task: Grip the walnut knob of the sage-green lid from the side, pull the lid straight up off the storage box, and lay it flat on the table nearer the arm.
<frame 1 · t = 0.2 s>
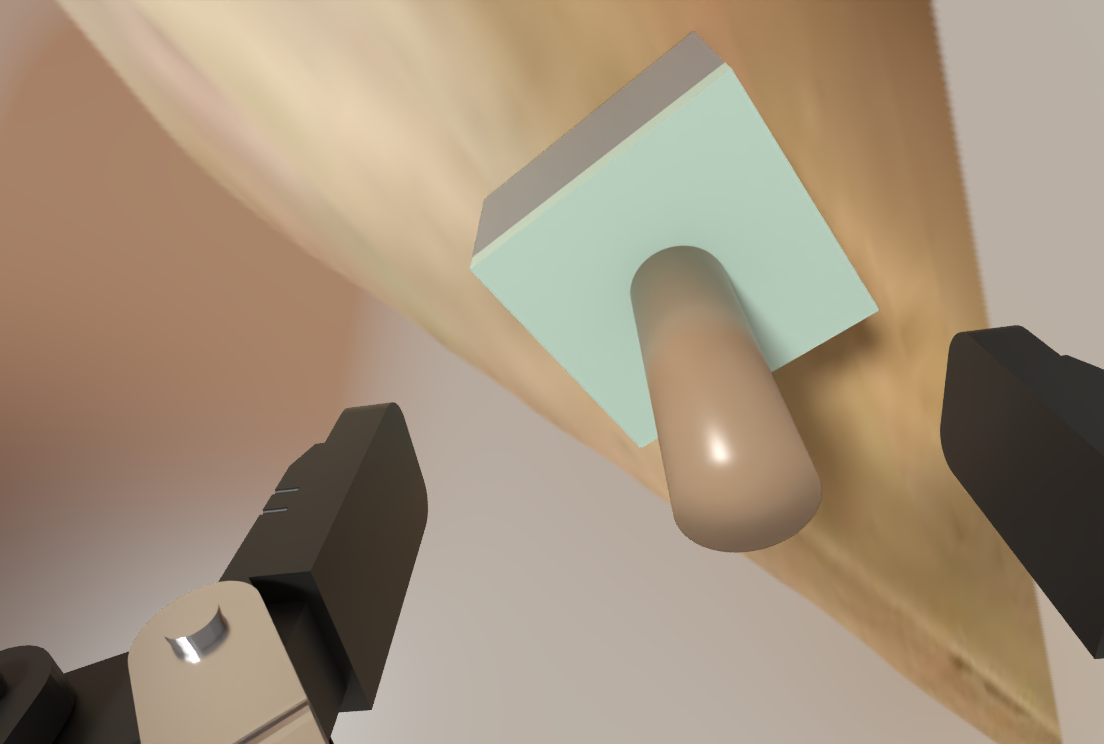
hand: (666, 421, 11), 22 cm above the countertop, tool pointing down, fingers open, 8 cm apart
storage box: (655, 217, 32), on the countertop
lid: (670, 266, 28), point 5 cm above the countertop, touching storage box
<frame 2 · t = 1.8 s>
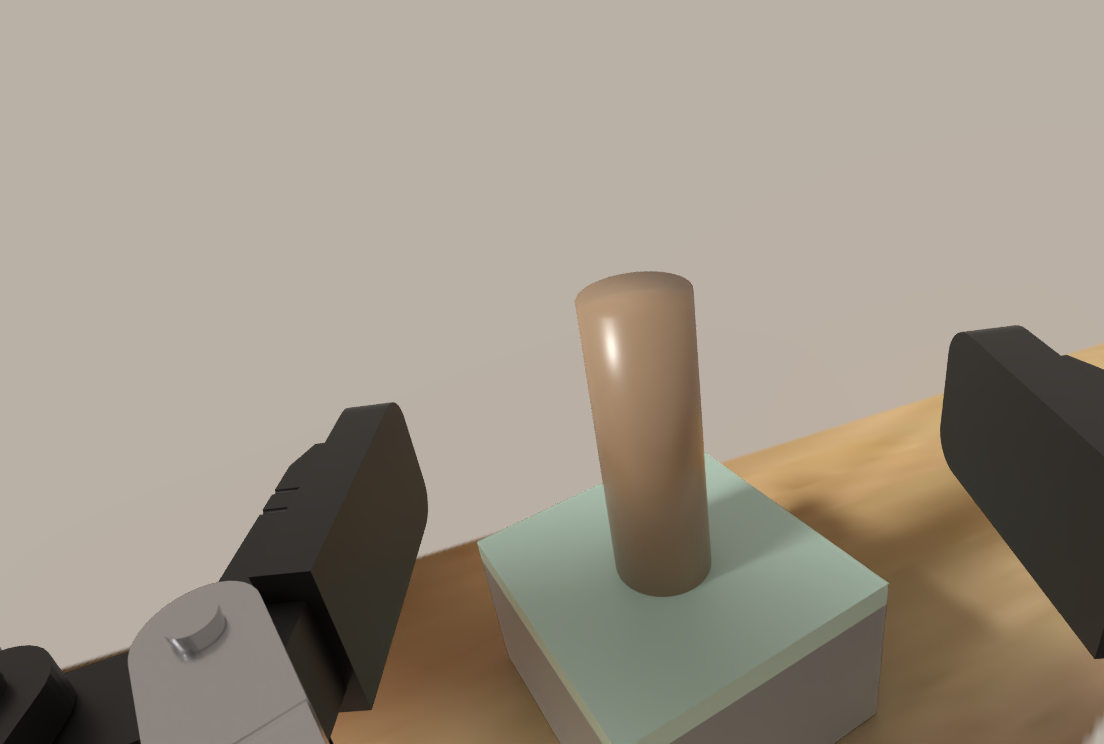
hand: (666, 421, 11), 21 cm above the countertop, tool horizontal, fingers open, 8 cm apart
storage box: (676, 681, 30), on the countertop
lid: (667, 598, 28), point 5 cm above the countertop, touching storage box
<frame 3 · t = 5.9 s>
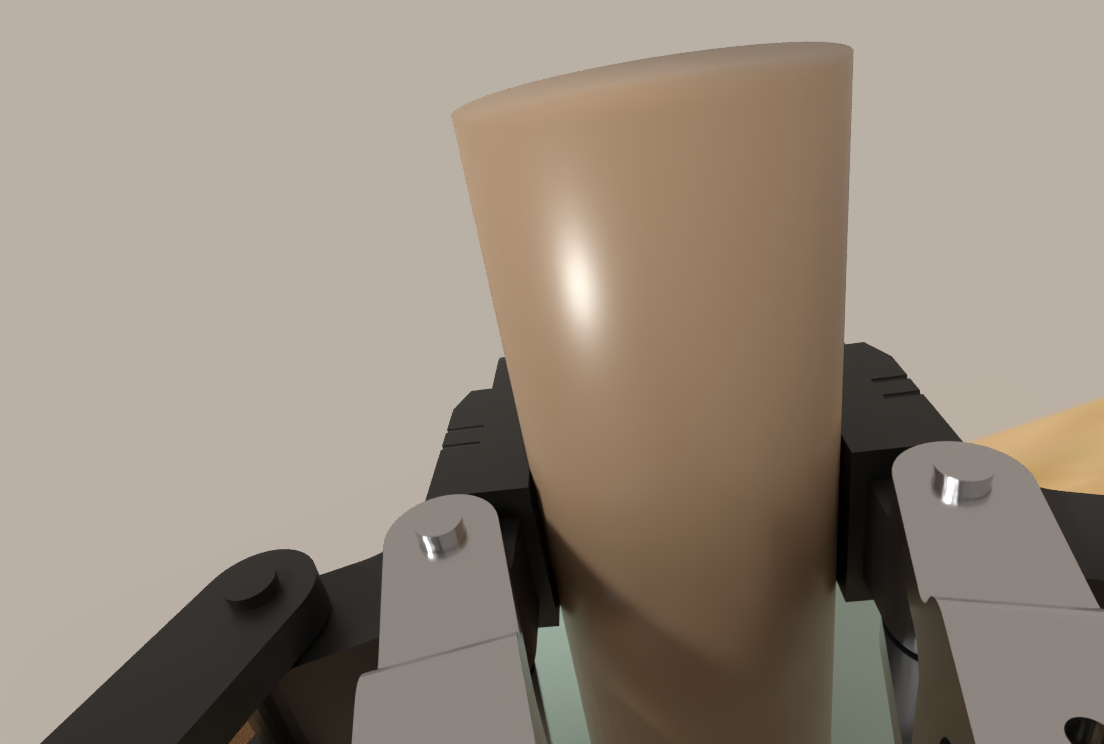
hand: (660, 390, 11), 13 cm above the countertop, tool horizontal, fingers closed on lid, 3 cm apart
when the fingers open (9 cm above the countertop, at t = 11.6 s): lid drops 1 cm, on the countertop.
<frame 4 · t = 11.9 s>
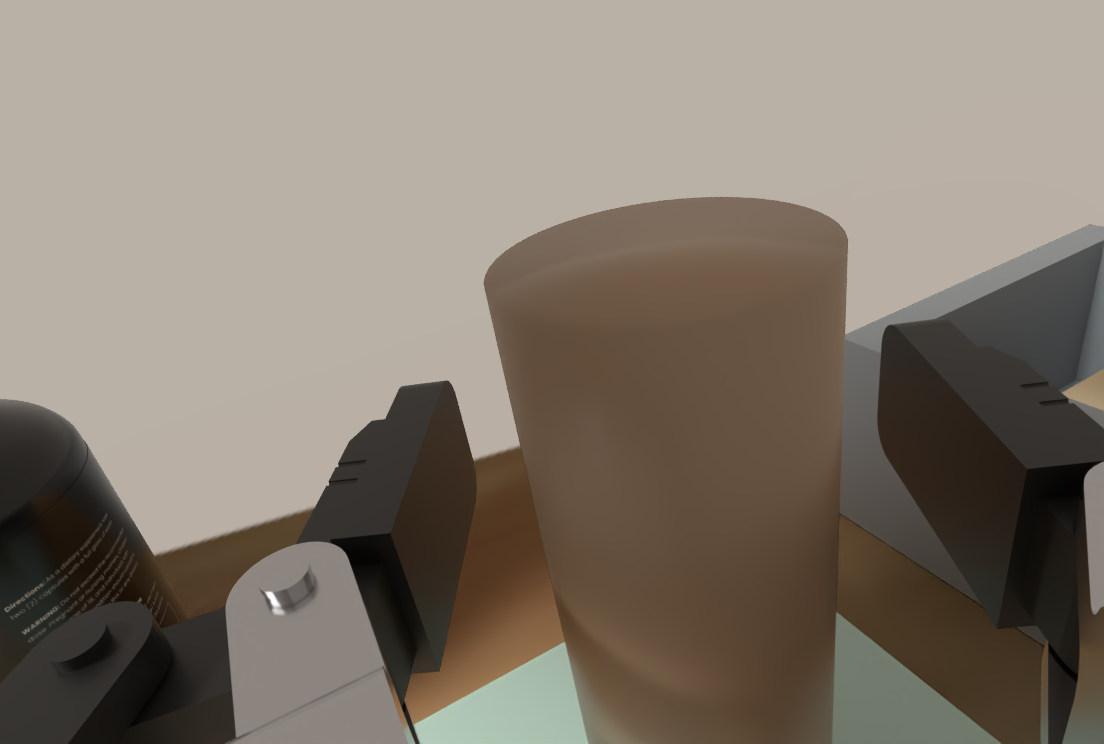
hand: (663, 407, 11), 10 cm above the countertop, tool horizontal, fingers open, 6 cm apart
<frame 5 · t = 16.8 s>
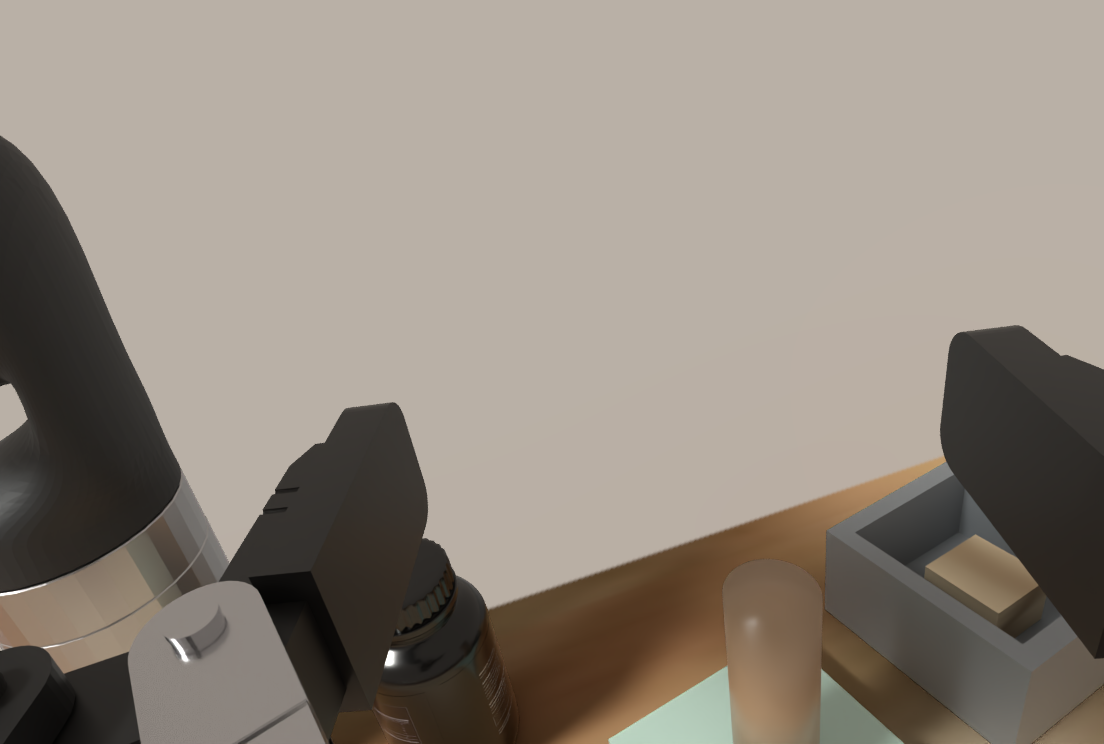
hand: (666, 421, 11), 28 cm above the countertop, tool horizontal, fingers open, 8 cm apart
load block: (979, 612, 38), point 1 cm above the countertop, touching storage box
storage box: (977, 625, 38), on the countertop
supplement bottle: (459, 737, 38), on the countertop
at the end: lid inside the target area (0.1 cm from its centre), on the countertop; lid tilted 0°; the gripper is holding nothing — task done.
